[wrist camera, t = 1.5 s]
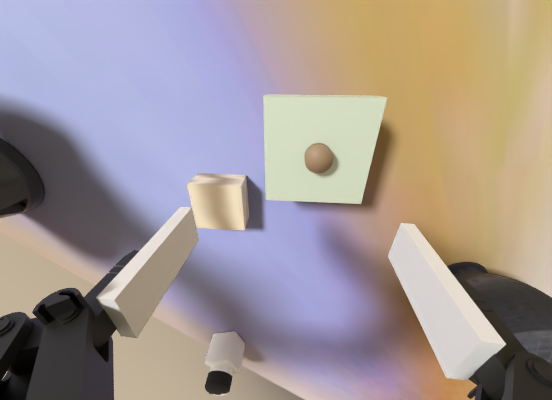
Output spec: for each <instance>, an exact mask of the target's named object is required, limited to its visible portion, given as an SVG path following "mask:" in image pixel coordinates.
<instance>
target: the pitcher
mask: <svg viewBox="0 0 552 400" xmlns="http://www.w3.org/2000/svg"><path fill="white" fill-rule="evenodd" d="M447 268H448V269H449V270H450V271H451V273H452V274H453V275H454V277H455V278H456V279H457V280H465V281H466V282H467V283H469V284H470V285H471V286H472V287H474V288H475V289H476V290H477V291H478V292H479V293H480V294H481V296H482V297H483V298H484V299H485V300H486V303H488V304H489V305H490V307H491V308H492V309H493V310H494V311H493V312H494V313H496V314H497V315H498V316H499V318H500V319H501V320H502V321H503V322H504V324H505V325H506V326H507V327H508V328H509V330H510V331H511V332H512V333H513V335H514V336H515V337H516V338H517V339H518V341H519V342H520V343H521V344H522V345H523V347H524V348H525V349H526V350H527V351H528V352H529V353H532V354H535V355H537V356H539V357H541V358H543V359H544V360H546V361H547V362H549V363H550V364H552V298H551V297H550V296H548V295H546V294H545V293H543V292H541V291H540V290H538V289H536V288H534V287H532V286H530V285H528V284H525V283H523V282H520V281H518V280H515V279H512V278H509V277H505V276H500V275H495V274H489V273H488V272H487V270H486V269H485V268H484V267H483V266H482V265H480V264H477V263H472V262H463V263H455V264H452V265H449V266H447ZM469 380H470V381H472V382H473V383H475V384H476V385H477V386H478V385H479V384H480V382H479V380H478V378H477V377H476V375H475V373H474V374H473V375H472V376H471V377H470V378H469Z"/></svg>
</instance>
